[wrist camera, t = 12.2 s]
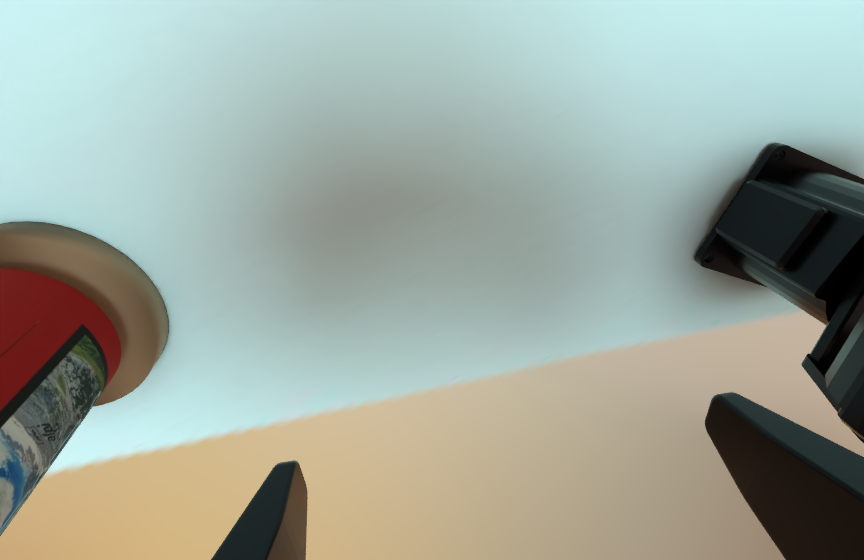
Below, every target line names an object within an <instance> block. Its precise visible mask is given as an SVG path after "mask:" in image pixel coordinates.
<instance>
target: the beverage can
mask: <svg viewBox="0 0 864 560" xmlns="http://www.w3.org/2000/svg"><path fill="white" fill-rule="evenodd" d="M120 360H121V344H120V339H119V336H118V334H117V331H116V329H115V327H114V325H113V324H112V322H111V321H110V319H109V318H108V317H107V315H106V314H105V313H104V312H103V311H102V310H101V308H100V307H98V306H97V305H96V304H95V303H94V302H93V301H92V300H91V299H89V298H88V297H87V296H85V295H84V294H82V293H81V292H79V291H78V290H76V289H74V288H73V287H71V286H69V285H67V284H65V283H63V282H61V281H58V280H56V279H53V278H51V277H48V276H45V275H42V274H38V273H34V272H30V271H25V270H19V269H9V268H0V536H1V534H2V533H3V532H4V530H5V529H6V528H7V526H8V525H9V523H10V522H11V521H12V519H13V518H14V516H15V515H16V514H17V512H18V511H19V509H20V508H21V507H22V505H23V504H24V502H25V501H26V500H27V498H28V497H29V495H30V494H31V493H32V491H33V490H34V488H35V487H36V486H37V484H38V483H39V481H40V480H41V479H42V477H43V476H44V475H45V473H46V472H47V470H48V469H49V468H50V466H51V465H52V463H53V462H54V461H55V459H56V458H57V456H58V455H59V454H60V452H61V451H62V449H63V448H64V446H65V445H66V444H67V442H68V441H69V439H70V438H71V436H72V435H73V434H74V432H75V431H76V429H77V428H78V426H79V425H80V424H81V422H82V421H83V419H84V418H85V417H86V415H87V414H88V412H89V411H90V409H91V408H92V407H93V405H94V404H95V402H96V401H97V399H98V398H99V396H100V395H101V393H102V392H103V391H104V389H105V388H106V386H107V385H108V383H109V382H110V380H111V379H112V378H113V376H114V375H115V373H116V371H117V369H118V367H119V364H120Z"/></svg>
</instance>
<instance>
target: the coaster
mask: <svg viewBox="0 0 864 560" xmlns="http://www.w3.org/2000/svg"><path fill="white" fill-rule="evenodd" d="M0 268H9V269H19V270H25V271H30V272H34V273H38V274H42V275H45V276H48V277H51V278H53V279H56V280H58V281H61V282H63V283H65V284H67V285H69V286H71V287H73V288H74V289H76V290H78V291H79V292H81V293H82V294H84V295H85V296H87V297H88V298H89V299H91V300H92V301H93V302H94V303H95V304H96V305H97V306H98V307H100V308H101V310H102V311H103V312H104V313H105V314H106V315H107V317H108V318H109V319H110V321H111V322H112V324H113V325H114V327H115V329H116V331H117V334H118V336H119V339H120V344H121V360H120V364H119V367H118V369H117V371H116V373H115V375H114V376H113V378H112V379H111V380H110V382H109V383H108V385H107V386H106V388H105V389H104V391H103V392H102V393H101V395H100V396H99V398H98V399H97V401H96V402H95V404H94V405H93V406H99V405H103V404H106V403H109V402H112V401H115V400H117V399H119V398H122V397H124V396H125V395H127V394H129V393H130V392H132V391H133V390H134V389H135V388H137V387H138V386H139V385H140V384H141V383H142V382H143V381H144V380H145V378H146V377H147V375H148V374H149V372H150V371H151V369H152V368H153V366H154V364H155V363H156V361H157V360H158V358H159V356H160V355H161V353H162V351H163V350H164V347H165V345H166V342H167V337H168V316H167V311H166V308H165V305H164V302H163V300H162V298H161V296H160V294H159V292H158V290H157V289H156V287H155V286H154V284H153V283H152V281H151V280H150V279H149V278H148V277H147V275H146V274H145V273H144V272H143V271H142V270H141V269H140V268H139V267H138V266H137V265H136V264H135V263H134V262H133V261H131V260H130V259H129V258H128V257H126V256H125V255H124V254H122V253H121V252H120V251H118V250H116V249H115V248H113V247H111V246H110V245H108V244H107V243H105V242H103V241H101V240H99V239H96V238H94V237H92V236H90V235H88V234H85V233H82V232H80V231H77V230H74V229H70V228H66V227H63V226H59V225H53V224H47V223H39V222H11V223H4V224H0Z"/></svg>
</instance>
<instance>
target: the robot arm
mask: <svg viewBox="0 0 864 560" xmlns="http://www.w3.org/2000/svg"><path fill="white" fill-rule="evenodd" d="M778 152H779V153H778ZM777 153H778V156H777V157H776V158H775V156H776V154H777ZM707 255H709V256H708V257H707V258H706V259H705V257H706V256H707ZM695 260H696V262H697V263H699V264H700V265H701V266H703V267H706V268H709V269H712V270H715V271H718V272H721V273H724V274H728V275H731V276H734V277H737V278H740V279H743V280H746V281H750V282H753V283H756V284H759V285H762V286H765V287H768V288H770V289H771V290H773V291H774V292H776V293H778V294H779V295H781V296H782V297H784V298H785V299H787V300H788V301H790V302H791V303H793V304H794V305H796V306H798V307H799V308H801V309H802V310H804V311H805V312H807V313H808V314H810V315H811V316H813V317H814V318H816V319H818V320H819V321H821V322H822V323H824V324H825V325H827V326H826V328H825V329H824V331H823V333H822V335H821V336H820V338H819V340H818V341H817V343H816V345H815V347H814V348H813V350H812V352H811V354H807V356H806V357H805V359H804V361H803V363H802V366H803V368H804V369H805V370H806V372H807V373H808V374H809V375H810V377H811V378H812V379H813V381H814V382H815V383H816V384H817V386H818V387H819V389H820V390H821V391H822V392H823V394H824V395H825V396H826V398H827V399H828V400H829V402H830V403H831V404H832V406H833V407H834V408H835V409H836V411H837V412H838V416H839V417H840V419H841V420H842V422H843V423H844V424H845V425H847V426H848V427H849V428H850V429H851V430H852V431H853V433H854V434H855V435H856V436H857V437H858V438H859V439H860V440H861V441H862V442H863V443H864V179H862V178H860V177H858V176H856V175H853V174H851V173H849V172H846V171H844V170H842V169H840V168H837V167H835V166H833V165H831V164H828V163H826V162H824V161H821V160H819V159H817V158H815V157H812V156H810V155H808V154H805V153H803V152H801V151H799V150H796V149H794V148H792V147H790V146H787V145H784V144H780V143H776V144H773V145H771V146H769V147H768V148H767V150H766V151H765V152H764V154H763V155H762V157H761V158H760V160H759V161H758V163H757V164H756V166H755V167H754V169H753V170H752V172H751V173H750V175H749V176H748V178H747V179H746V181H745V182H744V184H743V185H742V187H741V188H740V189H739V191H738V192H737V194H736V195H735V197H734V198H733V200H732V201H731V203H730V204H729V206H728V207H727V209H726V210H725V212H724V213H723V215H722V216H721V218H720V219H719V221H718V222H717V224H716V225H715V227H714V228H713V230H712V231H711V233H710V234H709V236H708V237H707V239H706V240H705V242H704V243H703V245H702V246H701V248H700V249H699V250H698V252H697V254H696V256H695ZM705 427H706V430H707V432H708V434H709V436H710V438H711V440H712V442H713V443H714V445H715V447H716V449H717V450H718V453H719V454H720V456H721V458H722V460H723V461H724V463H725V465H726V467H727V469H728V471H729V472H730V474H731V476H732V478H733V479H734V481H735V483H736V485H737V487H738V488H739V490H740V492H741V493H742V495H743V497H744V499H745V500H746V502H747V503H748V505H749V506H750V508H751V509H752V511H753V512H754V514H755V515H756V516H757V518H758V520H759V521H760V522H761V524H762V525H763V527H764V528H765V530H766V531H767V533H768V534H769V536H770V537H771V539H772V540H773V541H774V543H775V545H776V546H777V547H778V549H779V550H780V552H781V553H782V555H783V556H784V558H785V559H786V560H864V457H862V456H860V455H858V454H856V453H854V452H852V451H850V450H848V449H846V448H844V447H842V446H840V445H838V444H836V443H834V442H832V441H830V440H828V439H826V438H824V437H822V436H820V435H818V434H816V433H814V432H812V431H810V430H808V429H806V428H804V427H802V426H800V425H798V424H796V423H794V422H792V421H790V420H789V419H787V418H785V417H782V416H780V415H779V414H777V413H775V412H772V411H771V410H769V409H767V408H764V407H763V406H761V405H759V404H756V403H754V402H752V401H751V400H749V399H747V398H744V397H743V396H741V395H738V394H736V393H724V394H717V395H715V396H714V397H713V398H712V400H711V403H710V406H709V410H708V413H707V416H706V419H705ZM306 526H307V487H306V483H305V480H304V477H303V474H302V471H301V468H300V465H299V463H298V462H297V461H288V462H281V463H278V464H277V465H275V467H274V468H273V469H272V471H271V473H270V474H269V475H268V477H267V478H266V480H265V481H264V483H263V484H262V486H261V487H260V489H259V490H258V491H257V493H256V494H255V496H254V498H253V499H252V500H251V502H250V503H249V505H248V506H247V508H246V509H245V511H244V512H243V514H242V515H241V517H240V518H239V519H238V521H237V523H236V524H235V525H234V527H233V528H232V530H231V531H230V533H229V534H228V536H227V537H226V539H225V540H224V541H223V543H222V545H221V546H220V547H219V549H218V550H217V552H216V553H215V555H214V556H213V558H212V559H211V560H305V558H306Z"/></svg>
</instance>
